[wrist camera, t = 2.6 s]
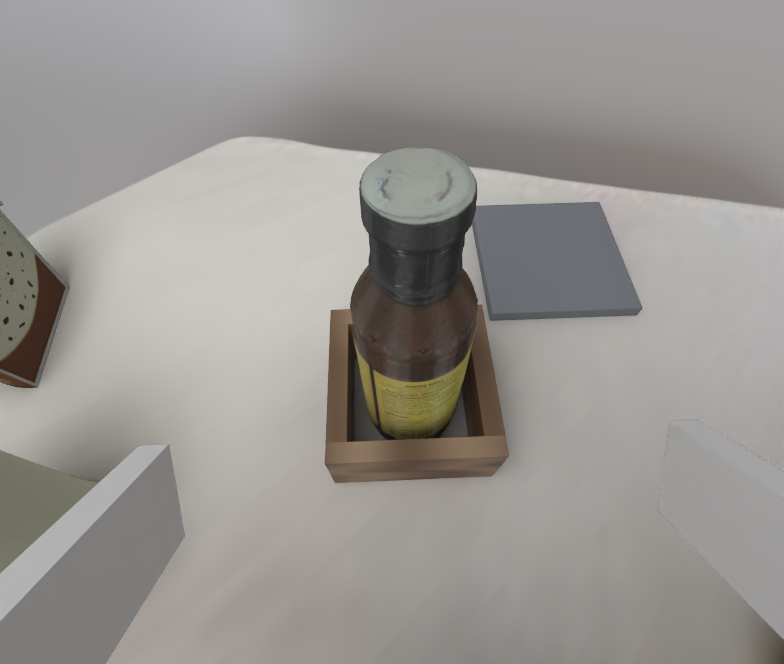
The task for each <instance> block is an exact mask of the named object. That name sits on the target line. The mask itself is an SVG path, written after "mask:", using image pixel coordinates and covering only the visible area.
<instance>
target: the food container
mask: <svg viewBox="0 0 784 664" xmlns="http://www.w3.org/2000/svg"><path fill="white" fill-rule="evenodd" d="M2 205H3V203H2V202H1V201H0V206H2ZM69 288H70V287H69V286H68V285H67V284H66V283H65V281H64V280H63V279H62V278H61V277H60V276H59V275H58V274H57V273H56V271H55V270H54V269H53V268H52V267H51V266H50V265H49V264H48V263H47V261H46V260H45V259H44V258H43V257H42V256H41V255H40V254H39V253H38V251H37V250H36V249H35V248H34V247H33V246H32V245H31V244H30V243H29V241H28V240H27V239H26V238H25V237H24V236H23V235H22V234H21V233H20V231H19V230H18V229H17V228H16V227H15V226H14V225H13V224H12V223H11V221H10V220H9V219H8V218H7V217H6V216H5V215H4V214H3V213H2V211H1V210H0V382H2V383H4V384H7V385H10V386H14V387H21V388H37V387H38V384H39V381H40V378H41V375H42V372H43V369H44V366H45V362H46V359H47V356H48V353H49V350H50V347H51V344H52V341H53V338H54V334H55V331H56V328H57V325H58V322H59V319H60V316H61V313H62V310H63V306H64V303H65V300H66V297H67V294H68V291H69Z"/></svg>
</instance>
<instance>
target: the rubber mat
mask: <svg viewBox="0 0 784 664" xmlns="http://www.w3.org/2000/svg"><path fill="white" fill-rule="evenodd" d="M472 226H473V232H474V237H475V242H476V248H477V253H478V259H479V264H480V269H481V275H482V280H483V286H484V291H485V296H486V302H487V307H488V313H489V318H490V320H515V319H543V318H570V317H598V316H625V315H637V314H638V313H639V312H640V310H641V309H642V306H641V304H640V301H639V299H638V296H637V294H636V291H635V289H634V286H633V284H632V281H631V279H630V276H629V274H628V272H627V269H626V267H625V264H624V262H623V259H622V257H621V254H620V252H619V249H618V247H617V244H616V242H615V239H614V237H613V235H612V232H611V230H610V227H609V225H608V222H607V220H606V217H605V215H604V212H603V210H602V207H601V205H600V203H599V202H584V203H552V204H521V205H489V206H476V212H475V216H474V218H473V221H472Z"/></svg>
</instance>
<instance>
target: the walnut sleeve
mask: <svg viewBox="0 0 784 664" xmlns="http://www.w3.org/2000/svg"><path fill="white" fill-rule="evenodd" d="M477 306H478V309H477V322H476V330H475V335H474V340H473V343H472V347H471V352H470V356H469V360H468V364H467V368H466V372H465V376H464V380H463V383H462V392H463V400H464V407H465V415H466V422H467V430H468V437H454V438H430V439H405V440H381V441H357V442H354V358H357V353H356V348H355V343H354V336H353V327H354V326H353V321H352V316H351V309H345V310H331V319H330V345H329V372H328V398H327V425H326V451H325V465H326V467H327V468H328V470H329V472H330V474H331V476H332V478H333V480H334V481H335V483H343V482H366V481H390V480H413V479H436V478H460V477H483V476H492V475H493V474H494V473H495V472H496V471H497V469H498V468H499V467H500V466H501V465H502V464H503V462H504V461H505V460H506V459H507V458H508V457H509V454H508V448H507V443H506V437H505V431H504V426H503V420H502V415H501V409H500V403H499V398H498V392H497V386H496V381H495V375H494V370H493V364H492V358H491V353H490V347H489V342H488V336H487V330H486V325H485V319H484V313H483V308H482V305H477Z"/></svg>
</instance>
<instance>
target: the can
mask: <svg viewBox="0 0 784 664" xmlns="http://www.w3.org/2000/svg"><path fill="white" fill-rule="evenodd" d="M98 483H99V482H95V481H89V480H82V479H79V478H76V477H73V476H70V475H67V474H65V473H62V472H59V471H56V470H53V469H50V468H48V467H45V466H42V465H39V464H36V463H34V462H31V461H28V460H25V459H22V458H20V457H17V456H14V455H12V454H9V453H6V452H4V451H1V450H0V573H1V572H2V571H4V570H5V569H6V568H7V567H8V566H9V565H10V564H11V563H12V562H13V561H14V560H15V559H17V558H18V557H19V556H20V555H21V554H22V553H23V552H24V551H25V550H26V549H27V548H28V547H30V546H31V545H32V544H33V543H34V542H35V541H36V540H37V539H38V538H39V537H40V536H41V535H43V534H44V533H45V532H46V531H47V530H48V529H49V528H50V527H51V526H52V525H53V524H54V523H56V522H57V521H58V520H59V519H60V518H61V517H62V516H63V515H64V514H65V513H66V512H67V511H69V510H70V509H71V508H72V507H73V506H74V505H75V504H76V503H77V502H78V501H79V500H80V499H82V498H83V497H84V496H85V495H86V494H87V493H88V492H89V491H90V490H91V489H92V488H93V487H95V486H96V485H97V484H98Z"/></svg>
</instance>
